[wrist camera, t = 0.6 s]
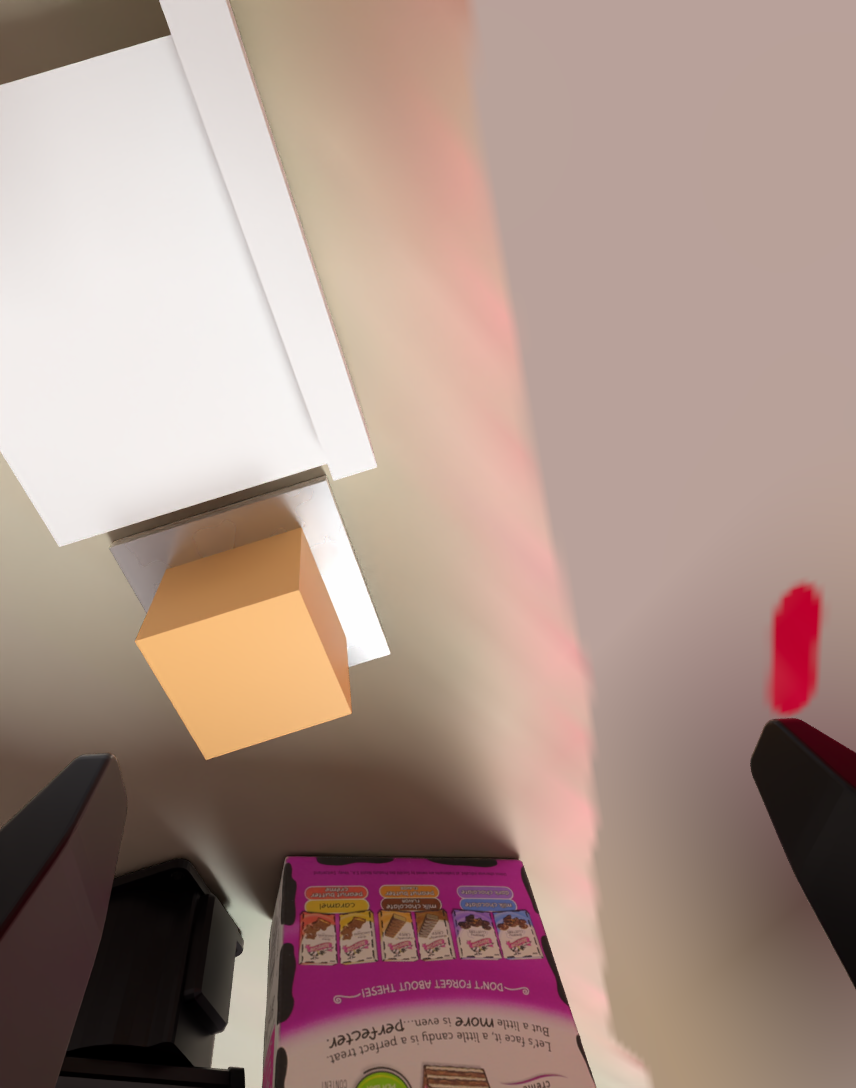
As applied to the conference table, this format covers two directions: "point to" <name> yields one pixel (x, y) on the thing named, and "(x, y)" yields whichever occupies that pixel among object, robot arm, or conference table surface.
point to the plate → (256, 521)
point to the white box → (159, 288)
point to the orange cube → (248, 644)
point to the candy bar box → (414, 979)
